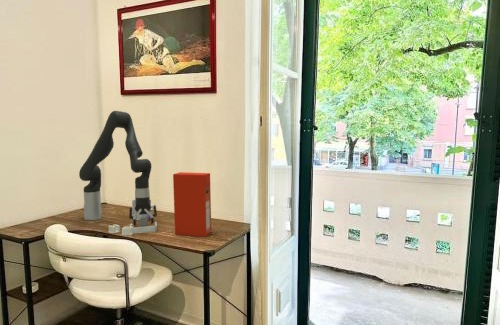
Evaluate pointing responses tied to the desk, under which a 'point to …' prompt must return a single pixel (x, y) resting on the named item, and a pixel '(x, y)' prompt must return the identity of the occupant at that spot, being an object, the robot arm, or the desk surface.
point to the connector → (143, 222)
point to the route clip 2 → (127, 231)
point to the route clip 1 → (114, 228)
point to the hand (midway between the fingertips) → (143, 225)
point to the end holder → (144, 229)
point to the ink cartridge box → (139, 214)
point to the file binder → (192, 204)
